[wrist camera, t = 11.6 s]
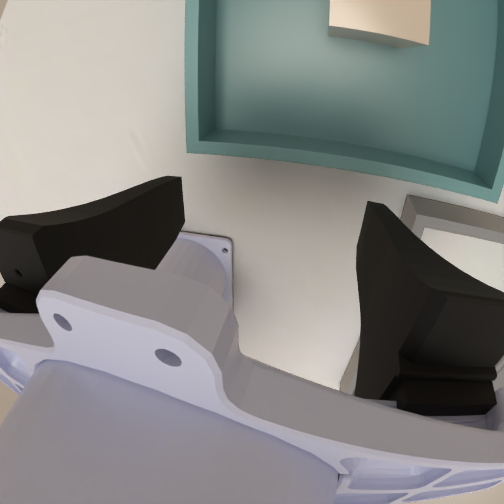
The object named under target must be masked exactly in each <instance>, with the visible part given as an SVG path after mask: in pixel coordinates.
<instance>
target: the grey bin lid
mask: <svg viewBox="0 0 504 504" xmlns="http://www.w3.org/2000/svg"><path fill="white" fill-rule="evenodd" d="M492 382H493V386H494V391H495V390H497V389H499V388H501V387H504V365H503V366H502V368H501V369H500V370H499V371H498V372H497V378H496V379H495V380H494V381H492Z"/></svg>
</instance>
